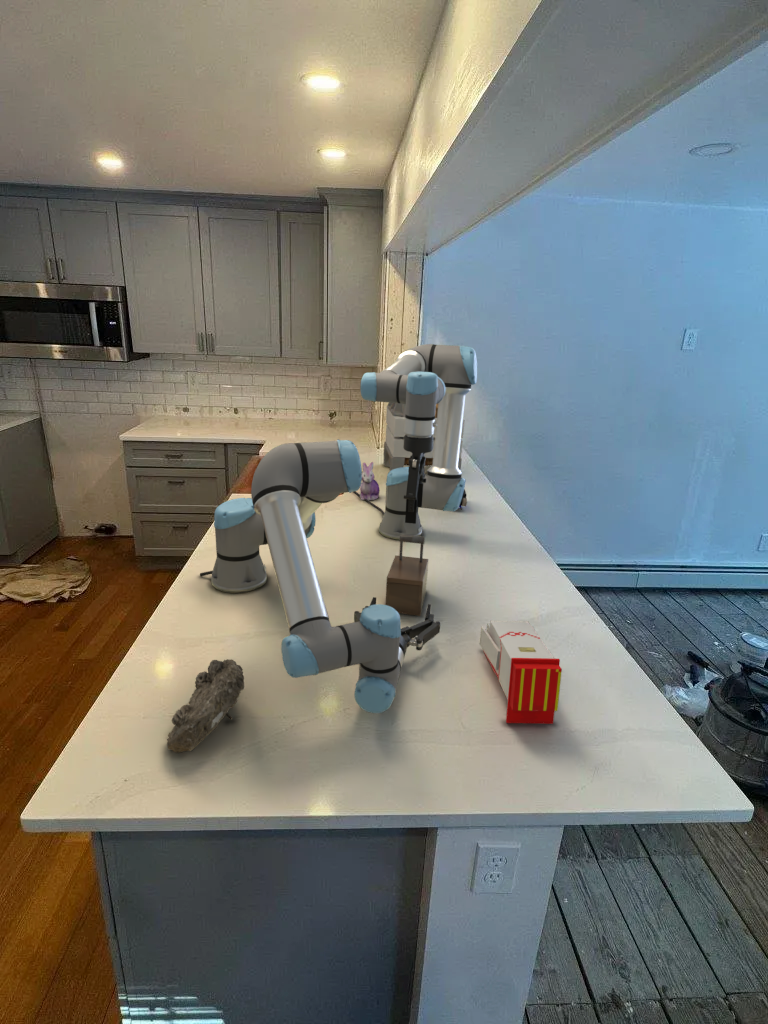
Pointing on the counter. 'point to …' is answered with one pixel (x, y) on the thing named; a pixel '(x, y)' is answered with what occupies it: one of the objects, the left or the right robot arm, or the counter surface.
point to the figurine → (369, 484)
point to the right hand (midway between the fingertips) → (413, 514)
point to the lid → (408, 564)
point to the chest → (406, 597)
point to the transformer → (395, 438)
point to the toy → (523, 670)
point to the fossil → (206, 705)
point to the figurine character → (463, 500)
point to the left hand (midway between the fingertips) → (401, 605)
